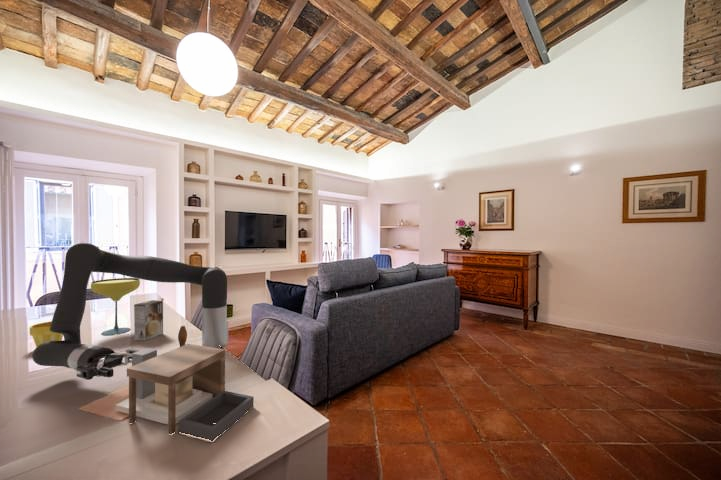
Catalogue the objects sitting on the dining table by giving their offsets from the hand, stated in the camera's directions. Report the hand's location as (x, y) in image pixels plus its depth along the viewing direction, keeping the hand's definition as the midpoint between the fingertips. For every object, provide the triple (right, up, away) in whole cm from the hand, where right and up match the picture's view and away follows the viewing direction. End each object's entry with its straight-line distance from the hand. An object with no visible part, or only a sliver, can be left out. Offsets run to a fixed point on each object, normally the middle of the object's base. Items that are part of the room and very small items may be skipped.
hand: (129, 366), depth 81 cm
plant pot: (-64, -9, +37) cm, 74 cm away
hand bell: (+6, -9, +15) cm, 19 cm away
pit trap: (+31, -9, -9) cm, 33 cm away
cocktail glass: (-53, -9, +56) cm, 77 cm away
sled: (+13, -9, -4) cm, 16 cm away
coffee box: (-32, -9, +50) cm, 59 cm away
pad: (+1, -9, 0) cm, 9 cm away
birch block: (+16, -7, -5) cm, 19 cm away
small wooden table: (+18, -9, -6) cm, 21 cm away
